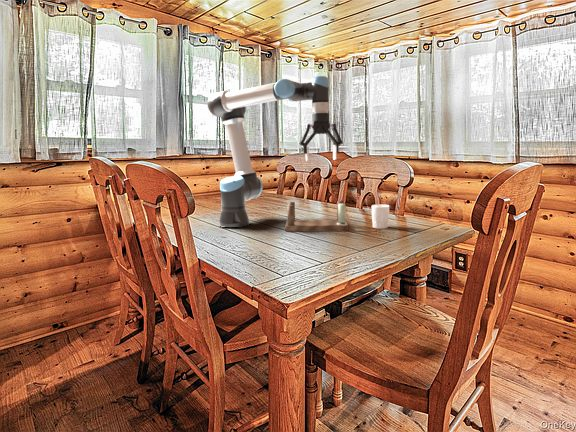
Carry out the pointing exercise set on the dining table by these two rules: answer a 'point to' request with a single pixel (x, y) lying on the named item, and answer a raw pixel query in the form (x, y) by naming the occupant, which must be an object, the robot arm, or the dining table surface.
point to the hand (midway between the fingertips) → (321, 160)
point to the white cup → (380, 216)
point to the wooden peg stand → (312, 222)
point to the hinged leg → (341, 213)
